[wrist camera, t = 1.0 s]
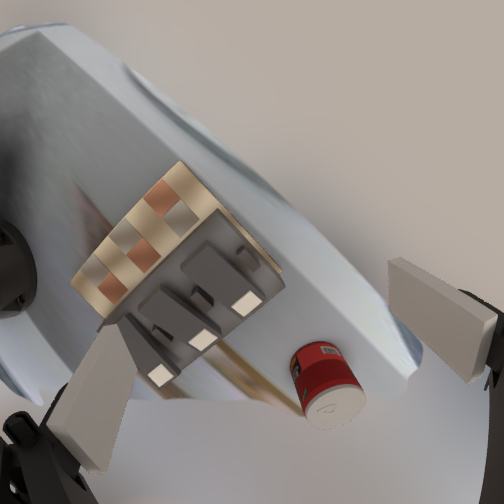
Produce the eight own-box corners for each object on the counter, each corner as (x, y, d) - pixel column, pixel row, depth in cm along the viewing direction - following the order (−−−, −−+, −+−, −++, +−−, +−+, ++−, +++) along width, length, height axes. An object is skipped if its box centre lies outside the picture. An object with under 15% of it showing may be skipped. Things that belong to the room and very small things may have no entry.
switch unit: (73, 279, 35) (48, 300, 28) (181, 160, 33) (170, 158, 26) (164, 364, 40) (156, 396, 33) (280, 268, 38) (293, 290, 31)
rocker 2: (179, 264, 28) (180, 271, 27) (206, 239, 28) (208, 245, 27) (239, 313, 33) (242, 321, 31) (263, 292, 32) (267, 300, 31)
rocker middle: (138, 304, 29) (137, 312, 28) (160, 283, 29) (160, 290, 27) (198, 346, 33) (200, 354, 32) (220, 328, 33) (222, 336, 32)
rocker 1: (112, 329, 32) (106, 333, 31) (129, 312, 32) (123, 316, 30) (162, 385, 32) (158, 390, 31) (181, 370, 32) (178, 376, 30)
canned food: (281, 353, 41) (298, 404, 31) (332, 331, 41) (361, 377, 30) (297, 387, 43) (314, 437, 33) (344, 367, 43) (370, 412, 32)
